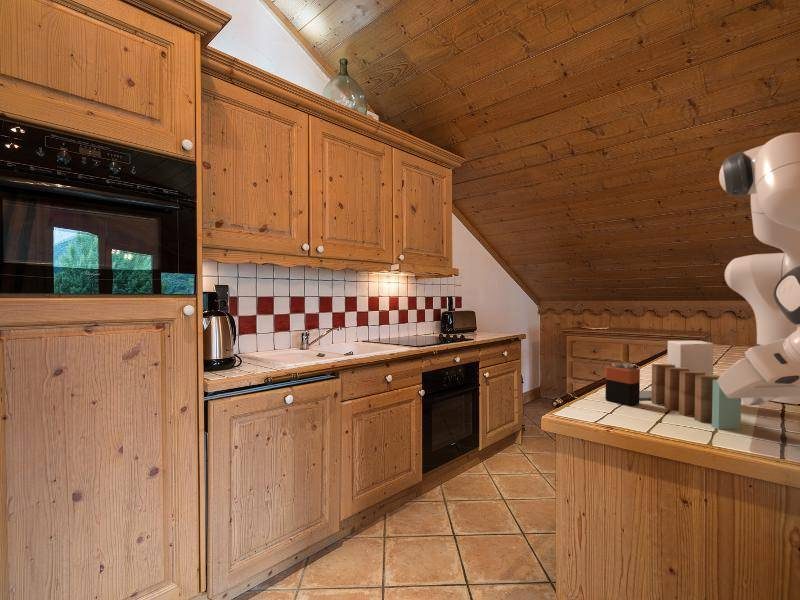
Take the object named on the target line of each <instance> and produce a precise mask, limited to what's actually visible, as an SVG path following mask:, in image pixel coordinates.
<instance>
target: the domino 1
mask: <svg viewBox="0 0 800 600" xmlns="http://www.w3.org/2000/svg"><path fill="white" fill-rule="evenodd" d="M665 368H675V365H672V364H668V363H661V364H660V363H656V364H655V363H652V364H651V391H652V397H651V400H650V402H652V403H651V404H653V403H654V404H653V405H655V404H665Z"/></svg>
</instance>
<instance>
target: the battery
mask: <svg viewBox="0 0 800 600" xmlns="http://www.w3.org/2000/svg"><path fill="white" fill-rule="evenodd" d="M640 379H641V369H640V368H638V367H635V365H634V364H629V363H625V364H623V365H620V363H619V362H612V365H607V366H606V367H605V397H604V398H605V400H606V401H607V402H610V401H611V403H615V404H618V405H623V406H627V405H628V407H632V406H636V405H639V404H640V400H639V395H640V391H641V390H640V388H641V387H640V385H641V383H640V381H641V380H640Z"/></svg>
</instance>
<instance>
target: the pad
mask: <svg viewBox="0 0 800 600" xmlns="http://www.w3.org/2000/svg"><path fill="white" fill-rule="evenodd" d="M651 397H652V390H640V395H639V401H650V400H649V399H651Z"/></svg>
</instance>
